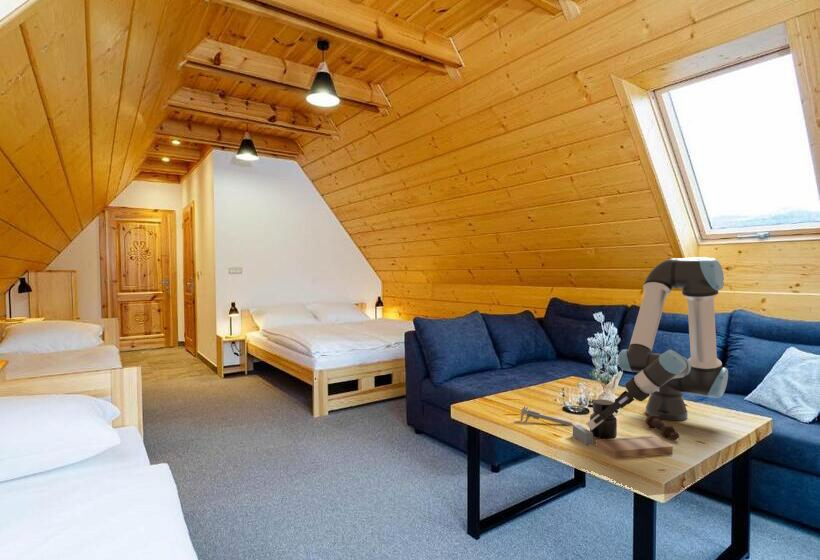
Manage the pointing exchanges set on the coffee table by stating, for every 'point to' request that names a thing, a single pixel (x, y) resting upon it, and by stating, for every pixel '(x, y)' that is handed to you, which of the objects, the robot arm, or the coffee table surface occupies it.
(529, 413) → the caliper
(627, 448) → the board
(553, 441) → the coffee table surface
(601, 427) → the ink bottle
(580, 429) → the block
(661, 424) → the bolt
